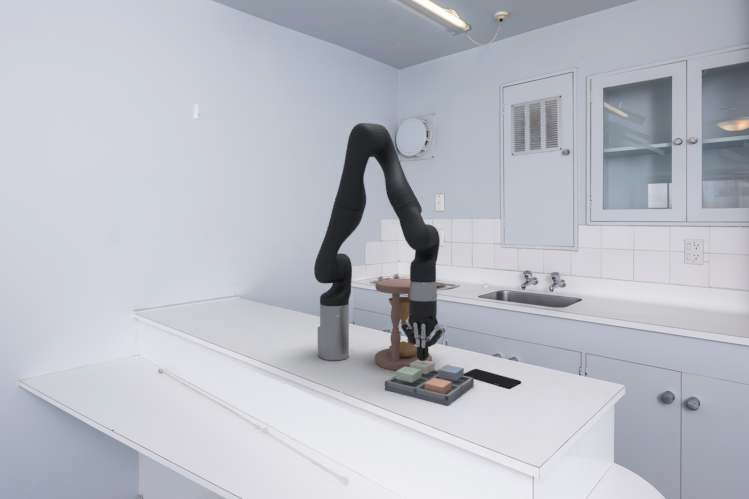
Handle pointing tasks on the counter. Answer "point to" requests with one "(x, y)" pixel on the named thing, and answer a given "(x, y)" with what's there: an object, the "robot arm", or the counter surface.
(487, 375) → the smartphone
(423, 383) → the keypad
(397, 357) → the hourglass
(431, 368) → the cream key
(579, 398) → the counter surface
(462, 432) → the counter surface
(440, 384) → the terracotta key
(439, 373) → the slate key
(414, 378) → the sage key
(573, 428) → the counter surface
